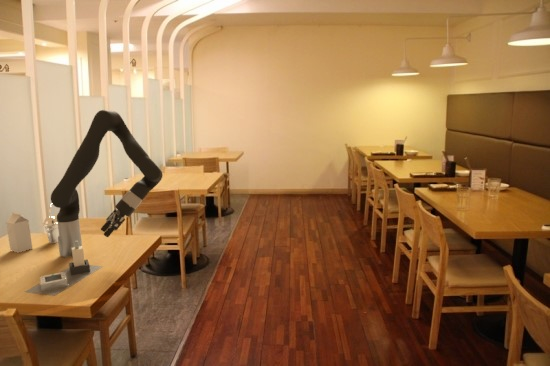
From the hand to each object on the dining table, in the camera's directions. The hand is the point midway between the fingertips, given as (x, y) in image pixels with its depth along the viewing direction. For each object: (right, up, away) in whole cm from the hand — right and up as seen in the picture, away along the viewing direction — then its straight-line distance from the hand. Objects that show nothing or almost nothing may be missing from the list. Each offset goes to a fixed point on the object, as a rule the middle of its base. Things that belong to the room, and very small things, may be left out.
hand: (103, 233), depth 181 cm
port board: (-11, -19, -9) cm, 24 cm away
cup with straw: (-42, -9, +41) cm, 60 cm away
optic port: (-13, -18, -16) cm, 27 cm away
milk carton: (-53, -12, +29) cm, 62 cm away
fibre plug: (-9, -16, -2) cm, 18 cm away
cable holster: (-9, -16, -2) cm, 18 cm away
